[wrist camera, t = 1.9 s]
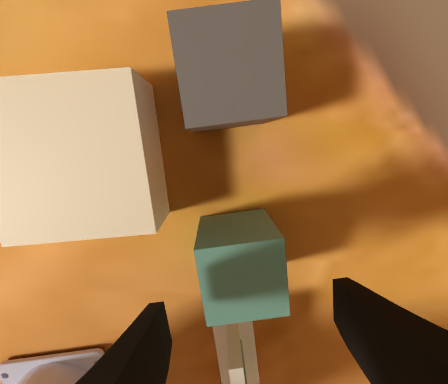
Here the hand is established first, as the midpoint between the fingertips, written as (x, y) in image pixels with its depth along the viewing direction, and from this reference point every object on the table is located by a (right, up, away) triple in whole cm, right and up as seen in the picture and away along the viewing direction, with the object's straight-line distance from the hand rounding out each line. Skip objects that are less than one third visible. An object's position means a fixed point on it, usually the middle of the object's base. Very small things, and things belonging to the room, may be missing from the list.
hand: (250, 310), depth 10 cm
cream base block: (-9, +7, +5) cm, 13 cm away
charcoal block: (-1, +11, +5) cm, 12 cm away
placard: (0, -7, +9) cm, 11 cm away
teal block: (0, +1, +7) cm, 7 cm away
